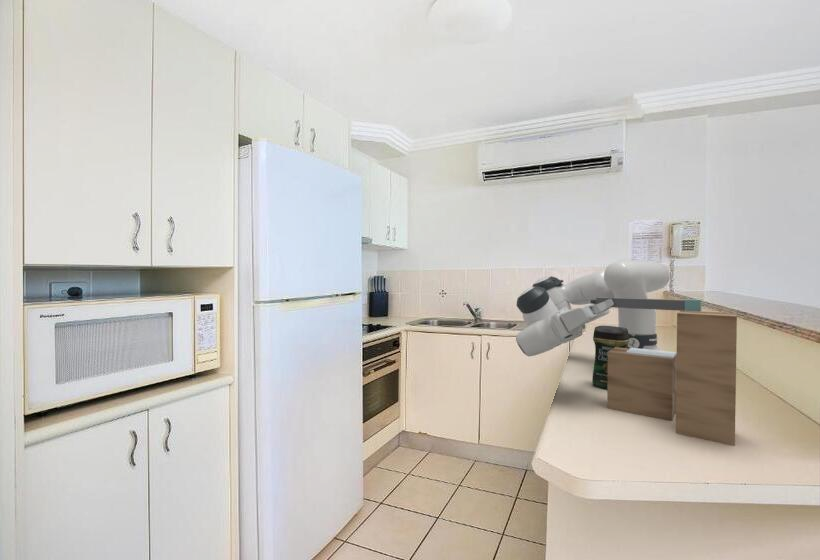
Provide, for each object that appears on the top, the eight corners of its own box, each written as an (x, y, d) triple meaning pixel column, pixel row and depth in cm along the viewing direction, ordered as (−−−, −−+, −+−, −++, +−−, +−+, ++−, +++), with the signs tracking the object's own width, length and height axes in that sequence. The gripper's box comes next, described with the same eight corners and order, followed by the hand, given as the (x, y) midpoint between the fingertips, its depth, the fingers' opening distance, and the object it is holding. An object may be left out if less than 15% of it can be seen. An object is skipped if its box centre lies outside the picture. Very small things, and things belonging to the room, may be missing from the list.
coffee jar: (588, 386, 123) (589, 325, 122) (598, 381, 128) (599, 323, 128) (623, 393, 116) (623, 329, 115) (631, 387, 121) (632, 326, 121)
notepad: (631, 349, 106) (631, 347, 106) (676, 354, 100) (676, 352, 100) (625, 353, 101) (625, 351, 101) (673, 358, 94) (673, 357, 94)
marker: (592, 305, 110) (592, 296, 110) (701, 310, 94) (701, 299, 94) (589, 306, 108) (589, 296, 108) (700, 311, 92) (700, 300, 92)
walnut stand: (614, 400, 109) (615, 304, 109) (735, 422, 93) (736, 310, 93) (598, 416, 97) (599, 309, 96) (734, 445, 81) (736, 316, 80)
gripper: (584, 330, 120) (630, 309, 112) (561, 338, 104) (611, 314, 96) (574, 311, 122) (617, 289, 114) (549, 316, 106) (597, 291, 98)
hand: (614, 300), depth 105 cm, fingers closed on marker, 2 cm apart
